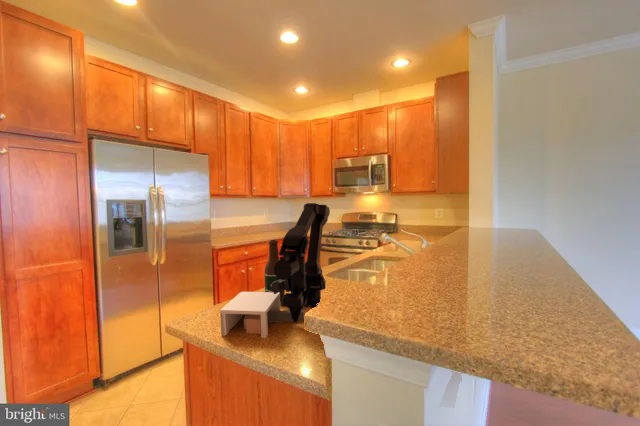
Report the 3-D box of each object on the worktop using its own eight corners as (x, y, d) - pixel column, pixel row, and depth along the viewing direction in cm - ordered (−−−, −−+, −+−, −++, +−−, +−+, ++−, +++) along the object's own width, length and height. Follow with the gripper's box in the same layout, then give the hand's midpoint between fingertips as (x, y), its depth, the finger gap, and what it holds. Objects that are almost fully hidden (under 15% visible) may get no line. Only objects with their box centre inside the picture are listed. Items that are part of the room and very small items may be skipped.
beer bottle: (261, 301, 113) (259, 241, 111) (273, 295, 120) (271, 238, 118) (277, 304, 109) (275, 242, 108) (288, 297, 116) (286, 239, 115)
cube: (252, 326, 92) (251, 312, 92) (265, 327, 91) (265, 313, 91) (246, 333, 88) (246, 318, 87) (260, 334, 87) (260, 319, 87)
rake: (247, 321, 96) (246, 312, 96) (303, 317, 97) (303, 309, 97) (244, 328, 90) (243, 319, 90) (304, 325, 92) (304, 316, 92)
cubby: (242, 313, 102) (241, 291, 101) (280, 314, 100) (279, 292, 99) (221, 335, 86) (220, 310, 85) (266, 337, 84) (265, 311, 84)
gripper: (280, 263, 104) (281, 305, 105) (263, 279, 86) (265, 329, 87) (310, 264, 103) (311, 306, 104) (300, 279, 84) (301, 330, 86)
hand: (297, 317), depth 95 cm, fingers open, 7 cm apart
